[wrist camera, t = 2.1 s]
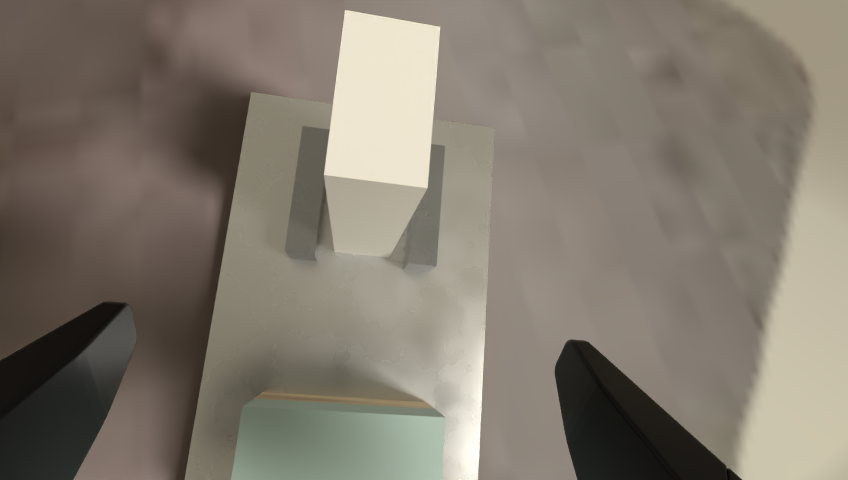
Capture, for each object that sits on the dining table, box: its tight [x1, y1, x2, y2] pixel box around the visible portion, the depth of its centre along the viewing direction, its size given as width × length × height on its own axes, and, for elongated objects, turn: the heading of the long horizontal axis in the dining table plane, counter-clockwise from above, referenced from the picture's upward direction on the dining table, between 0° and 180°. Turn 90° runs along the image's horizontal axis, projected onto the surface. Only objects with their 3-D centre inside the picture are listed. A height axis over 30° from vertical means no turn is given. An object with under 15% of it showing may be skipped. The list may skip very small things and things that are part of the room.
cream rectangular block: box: [324, 10, 440, 258], centre depth 17 cm, size 4×2×10 cm, turn 175°
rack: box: [185, 92, 494, 480], centre depth 20 cm, size 19×12×3 cm, turn 175°
